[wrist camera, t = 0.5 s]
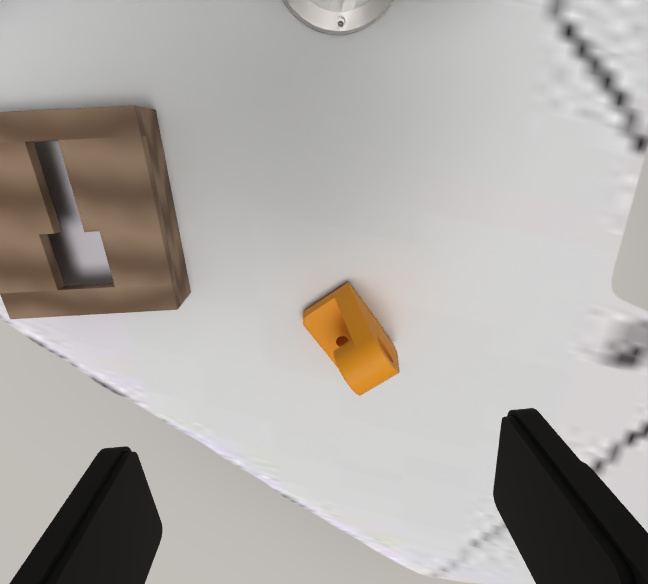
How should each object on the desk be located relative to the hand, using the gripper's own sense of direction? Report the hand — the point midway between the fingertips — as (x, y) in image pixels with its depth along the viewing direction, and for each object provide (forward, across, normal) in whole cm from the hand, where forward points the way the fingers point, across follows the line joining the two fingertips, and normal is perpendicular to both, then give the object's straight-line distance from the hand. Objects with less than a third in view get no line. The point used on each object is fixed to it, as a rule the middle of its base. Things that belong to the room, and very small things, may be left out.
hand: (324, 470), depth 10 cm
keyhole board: (+36, +24, -3) cm, 43 cm away
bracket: (+36, -3, +14) cm, 39 cm away
